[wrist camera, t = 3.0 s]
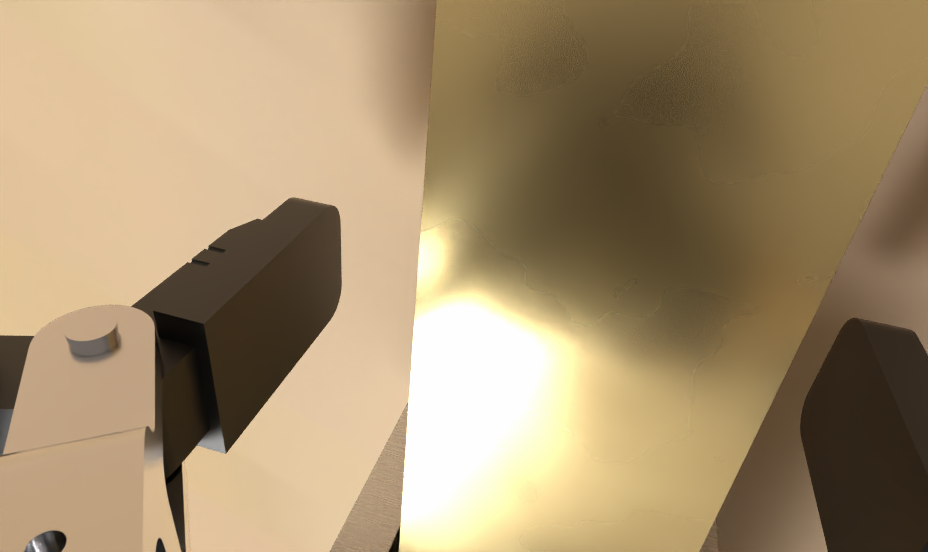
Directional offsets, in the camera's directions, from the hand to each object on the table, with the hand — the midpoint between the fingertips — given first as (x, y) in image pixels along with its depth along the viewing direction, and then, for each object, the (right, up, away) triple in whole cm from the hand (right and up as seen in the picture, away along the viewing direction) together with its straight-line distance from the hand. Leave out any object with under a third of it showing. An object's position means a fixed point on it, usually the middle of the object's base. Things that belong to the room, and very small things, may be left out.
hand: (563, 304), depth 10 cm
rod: (0, -4, +3) cm, 5 cm away
